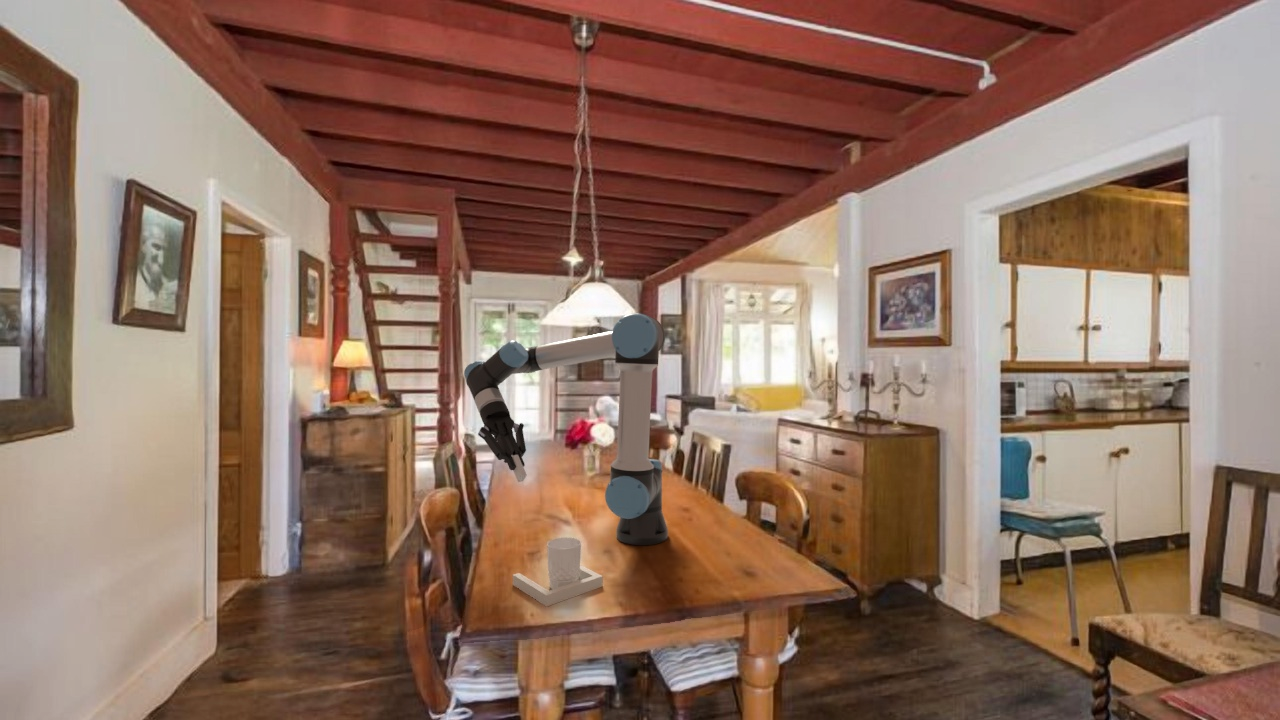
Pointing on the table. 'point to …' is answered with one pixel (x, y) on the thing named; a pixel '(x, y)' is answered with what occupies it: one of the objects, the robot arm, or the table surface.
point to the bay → (547, 598)
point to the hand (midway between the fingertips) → (522, 478)
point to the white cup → (563, 561)
